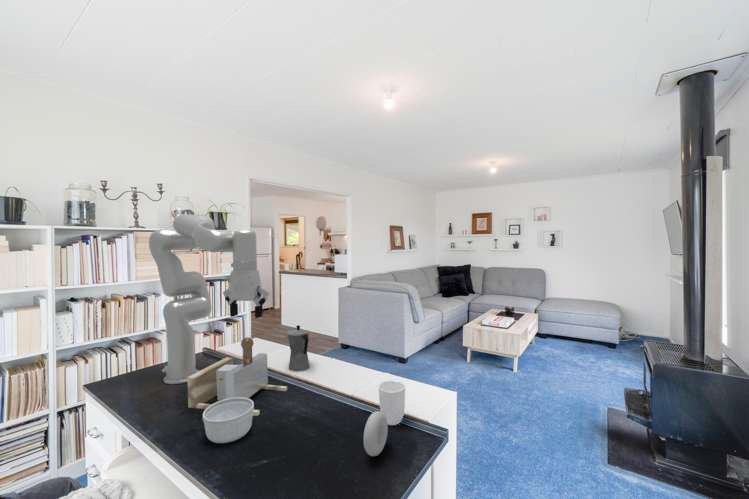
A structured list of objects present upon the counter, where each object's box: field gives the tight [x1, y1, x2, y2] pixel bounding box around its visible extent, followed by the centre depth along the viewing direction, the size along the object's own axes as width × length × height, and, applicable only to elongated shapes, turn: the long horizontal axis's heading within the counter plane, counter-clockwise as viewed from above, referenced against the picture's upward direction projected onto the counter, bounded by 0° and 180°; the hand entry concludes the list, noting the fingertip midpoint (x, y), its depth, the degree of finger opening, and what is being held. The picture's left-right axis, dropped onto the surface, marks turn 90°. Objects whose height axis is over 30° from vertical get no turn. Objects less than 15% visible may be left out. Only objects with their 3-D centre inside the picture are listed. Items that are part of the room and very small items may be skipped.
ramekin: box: [202, 397, 255, 444], centre depth 92 cm, size 13×13×7 cm
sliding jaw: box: [225, 336, 269, 399], centre depth 111 cm, size 4×19×20 cm, turn 166°
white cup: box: [378, 380, 406, 426], centre depth 97 cm, size 8×8×10 cm
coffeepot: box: [287, 325, 310, 372], centre depth 138 cm, size 15×9×18 cm, turn 37°
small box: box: [216, 364, 239, 402], centre depth 113 cm, size 8×6×10 cm
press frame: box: [187, 357, 288, 417], centre depth 112 cm, size 26×19×10 cm
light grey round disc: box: [362, 410, 389, 457], centre depth 82 cm, size 10×4×10 cm, turn 155°
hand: (246, 316), depth 111 cm, fingers open, 9 cm apart
